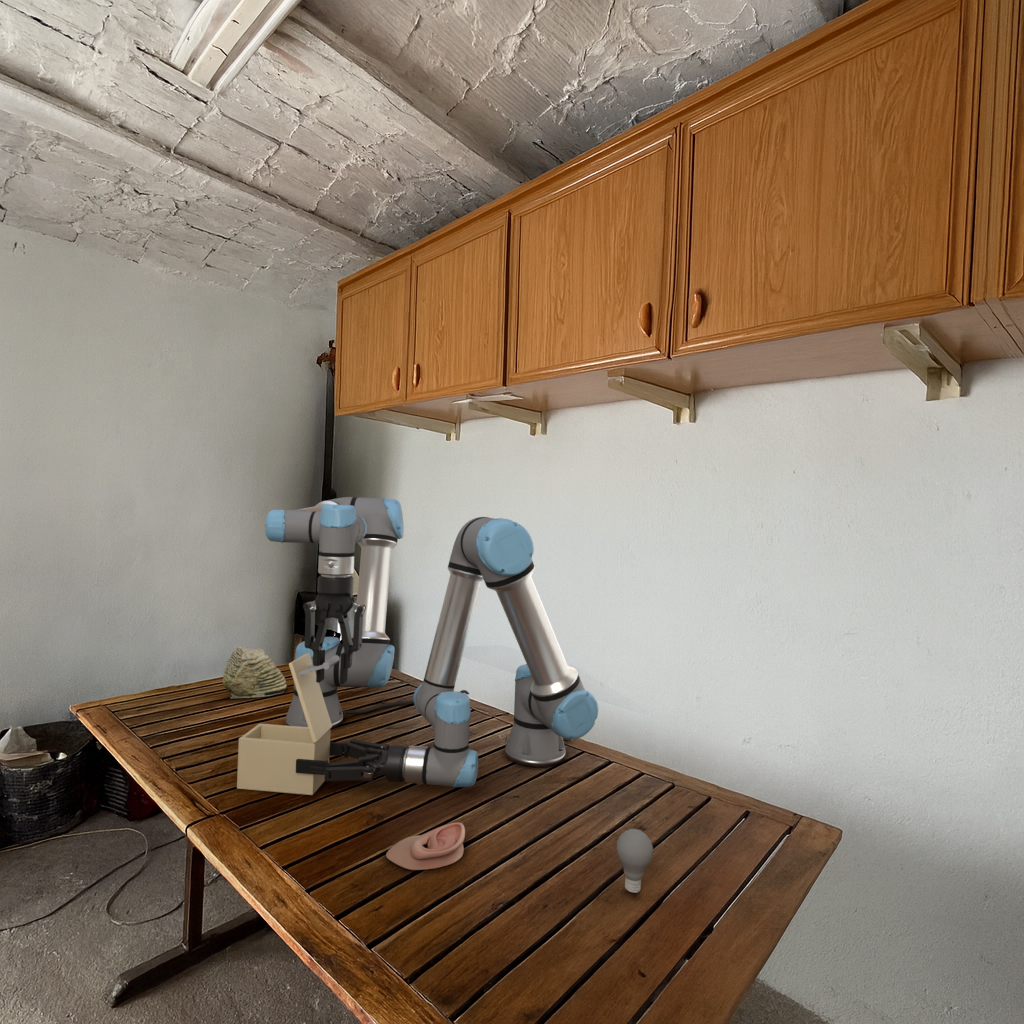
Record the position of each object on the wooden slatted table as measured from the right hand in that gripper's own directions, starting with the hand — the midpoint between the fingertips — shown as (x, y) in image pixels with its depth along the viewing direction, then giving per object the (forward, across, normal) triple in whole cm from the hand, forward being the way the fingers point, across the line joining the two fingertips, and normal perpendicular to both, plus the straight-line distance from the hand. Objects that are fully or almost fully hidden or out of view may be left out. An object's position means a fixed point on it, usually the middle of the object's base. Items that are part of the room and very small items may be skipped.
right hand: (306, 756), depth 139 cm
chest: (+5, 0, -6) cm, 8 cm away
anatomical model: (-32, -23, -6) cm, 40 cm away
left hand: (-5, 0, +17) cm, 18 cm away
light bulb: (-68, -28, -6) cm, 74 cm away
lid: (0, 0, +13) cm, 13 cm away
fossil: (+40, +56, -6) cm, 69 cm away
